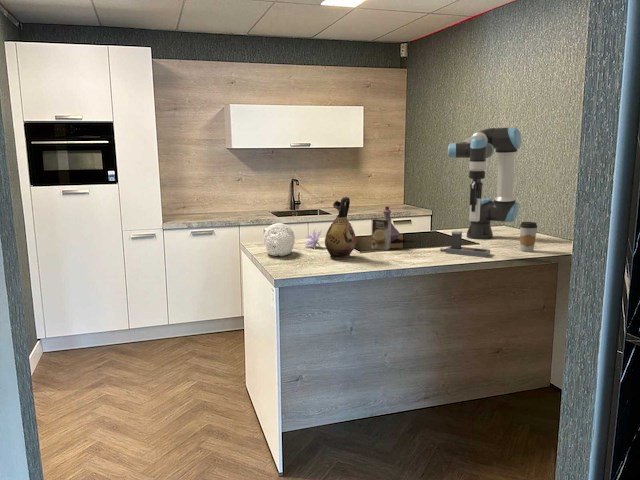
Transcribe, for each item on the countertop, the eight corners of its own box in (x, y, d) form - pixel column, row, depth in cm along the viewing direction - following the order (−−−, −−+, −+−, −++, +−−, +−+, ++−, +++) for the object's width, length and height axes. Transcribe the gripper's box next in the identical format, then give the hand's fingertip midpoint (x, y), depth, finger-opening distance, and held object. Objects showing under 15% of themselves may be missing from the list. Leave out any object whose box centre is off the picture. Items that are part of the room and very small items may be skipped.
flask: (405, 242, 291) (406, 207, 287) (378, 243, 287) (378, 208, 283) (394, 237, 306) (394, 204, 303) (368, 238, 302) (369, 205, 299)
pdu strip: (443, 250, 267) (443, 243, 266) (490, 255, 255) (490, 248, 254) (437, 253, 260) (438, 246, 259) (485, 258, 247) (486, 251, 247)
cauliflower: (256, 235, 267) (273, 212, 260) (284, 247, 274) (301, 226, 267) (258, 258, 251) (275, 234, 244) (287, 271, 258) (305, 248, 251)
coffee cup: (534, 250, 268) (536, 222, 265) (536, 253, 260) (538, 224, 257) (518, 249, 270) (519, 221, 268) (518, 252, 263) (520, 223, 260)
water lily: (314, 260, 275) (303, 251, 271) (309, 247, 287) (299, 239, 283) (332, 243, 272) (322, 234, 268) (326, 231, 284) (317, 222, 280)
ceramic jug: (346, 261, 242) (346, 199, 236) (319, 258, 250) (318, 197, 244) (362, 255, 256) (363, 196, 250) (336, 252, 264) (336, 195, 258)
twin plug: (453, 251, 262) (454, 230, 260) (460, 252, 260) (461, 231, 258) (450, 252, 258) (451, 231, 256) (458, 253, 256) (459, 232, 254)
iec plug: (471, 220, 255) (472, 198, 254) (479, 220, 253) (480, 198, 251) (469, 220, 252) (470, 198, 250) (477, 221, 250) (478, 199, 248)
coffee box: (370, 248, 273) (371, 219, 270) (374, 246, 278) (375, 217, 276) (387, 250, 269) (387, 220, 266) (390, 248, 275) (391, 218, 272)
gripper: (474, 169, 257) (472, 215, 261) (464, 170, 243) (461, 219, 247) (489, 170, 253) (486, 216, 257) (480, 171, 239) (477, 220, 243)
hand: (474, 217), depth 252 cm, fingers closed on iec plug, 4 cm apart
